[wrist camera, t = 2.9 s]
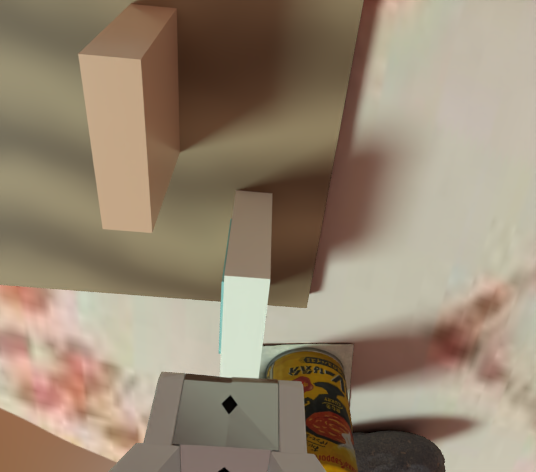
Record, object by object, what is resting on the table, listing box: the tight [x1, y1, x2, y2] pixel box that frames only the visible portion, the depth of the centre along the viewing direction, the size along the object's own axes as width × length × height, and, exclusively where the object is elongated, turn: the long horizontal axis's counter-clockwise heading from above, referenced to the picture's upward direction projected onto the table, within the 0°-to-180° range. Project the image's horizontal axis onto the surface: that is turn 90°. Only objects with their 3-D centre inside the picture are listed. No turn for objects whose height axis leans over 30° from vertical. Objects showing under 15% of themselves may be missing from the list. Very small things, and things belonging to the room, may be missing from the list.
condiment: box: [259, 344, 358, 472], centre depth 34 cm, size 7×8×12 cm
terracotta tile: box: [78, 4, 180, 233], centre depth 21 cm, size 7×2×7 cm, turn 175°
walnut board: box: [0, 0, 364, 308], centre depth 27 cm, size 19×20×1 cm
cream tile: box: [219, 190, 272, 378], centre depth 27 cm, size 7×2×7 cm, turn 175°
